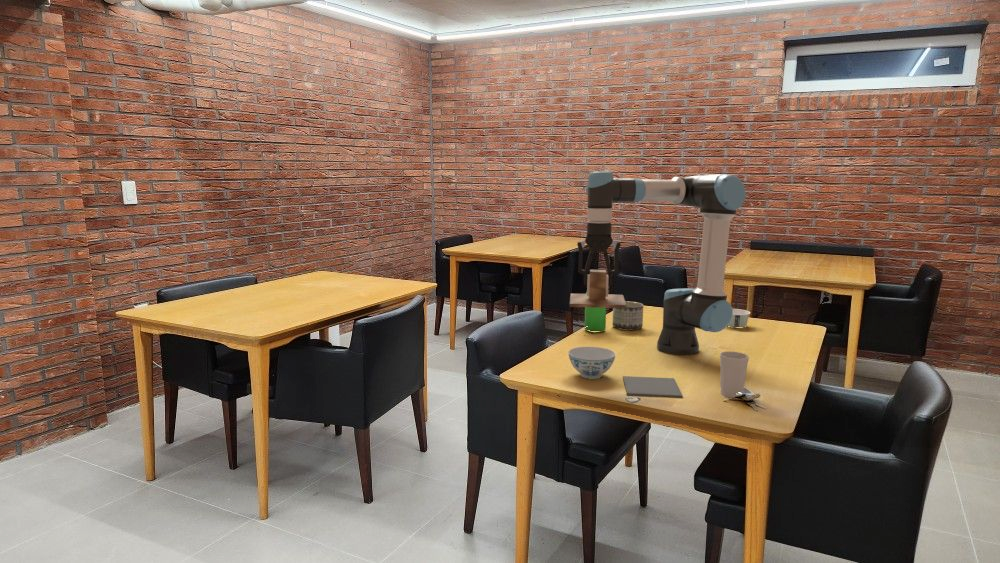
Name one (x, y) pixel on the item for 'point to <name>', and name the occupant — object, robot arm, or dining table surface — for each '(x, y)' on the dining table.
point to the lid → (597, 294)
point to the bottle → (595, 318)
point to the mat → (651, 386)
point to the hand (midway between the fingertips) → (597, 295)
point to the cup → (733, 372)
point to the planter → (628, 316)
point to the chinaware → (591, 361)
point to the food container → (739, 318)
